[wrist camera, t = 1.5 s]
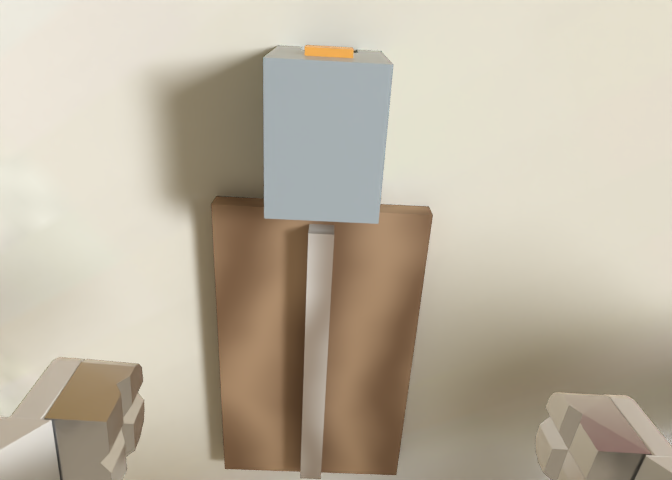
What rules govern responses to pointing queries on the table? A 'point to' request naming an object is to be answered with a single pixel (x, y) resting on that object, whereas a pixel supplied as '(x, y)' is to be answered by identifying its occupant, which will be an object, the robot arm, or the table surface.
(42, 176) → the table surface
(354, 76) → the block
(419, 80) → the table surface
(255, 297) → the rail board
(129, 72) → the table surface
